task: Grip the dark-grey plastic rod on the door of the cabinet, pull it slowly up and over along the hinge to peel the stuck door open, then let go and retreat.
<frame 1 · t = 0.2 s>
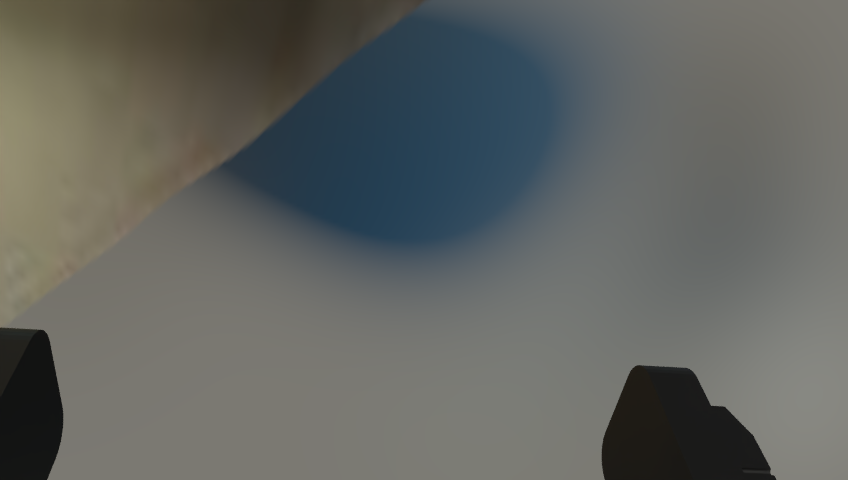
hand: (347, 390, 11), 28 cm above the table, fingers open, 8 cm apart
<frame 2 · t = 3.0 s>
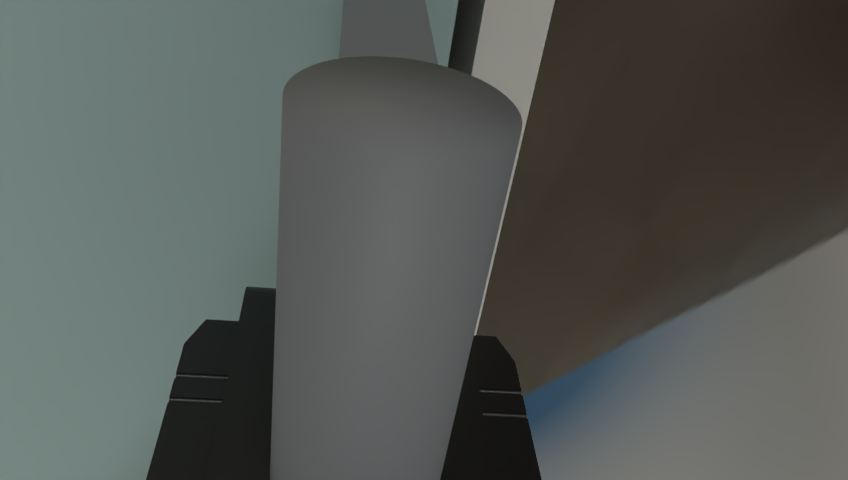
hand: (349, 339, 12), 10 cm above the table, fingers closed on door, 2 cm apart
cabinet: (137, 50, 19), on the table
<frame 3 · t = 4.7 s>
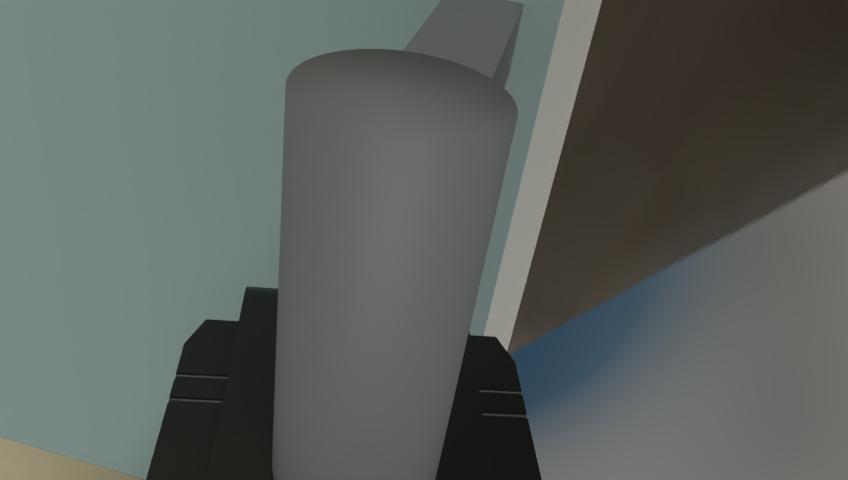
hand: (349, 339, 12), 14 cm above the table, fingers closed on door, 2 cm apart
cabinet: (237, 11, 22), on the table
door: (12, 290, 11), point 13 cm above the table, hinge at 17.1°, touching gripper
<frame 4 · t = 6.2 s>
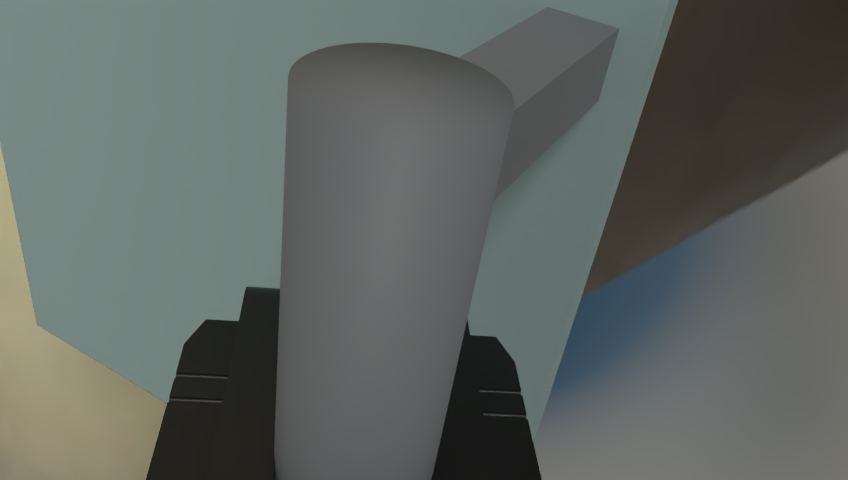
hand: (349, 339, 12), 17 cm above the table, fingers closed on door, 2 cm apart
door: (127, 241, 13), point 15 cm above the table, hinge at 33.9°, touching gripper
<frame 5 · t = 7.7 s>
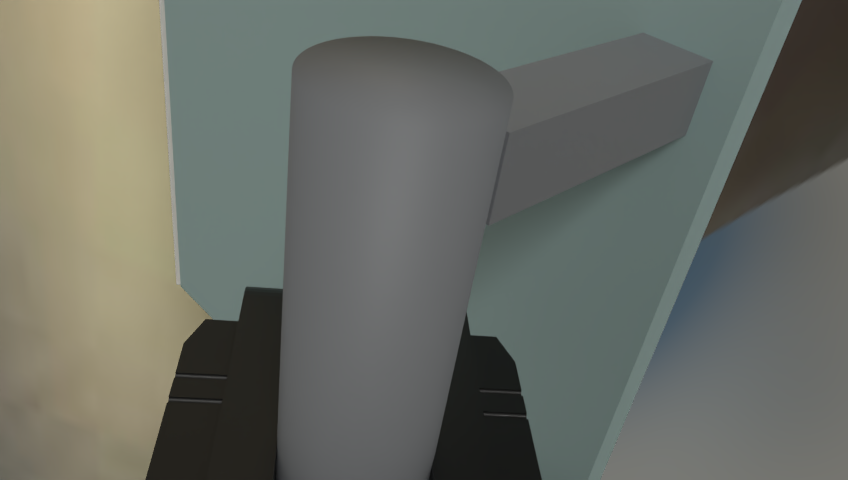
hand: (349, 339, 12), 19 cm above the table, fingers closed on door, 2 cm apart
door: (234, 214, 14), point 16 cm above the table, hinge at 51.0°, touching gripper
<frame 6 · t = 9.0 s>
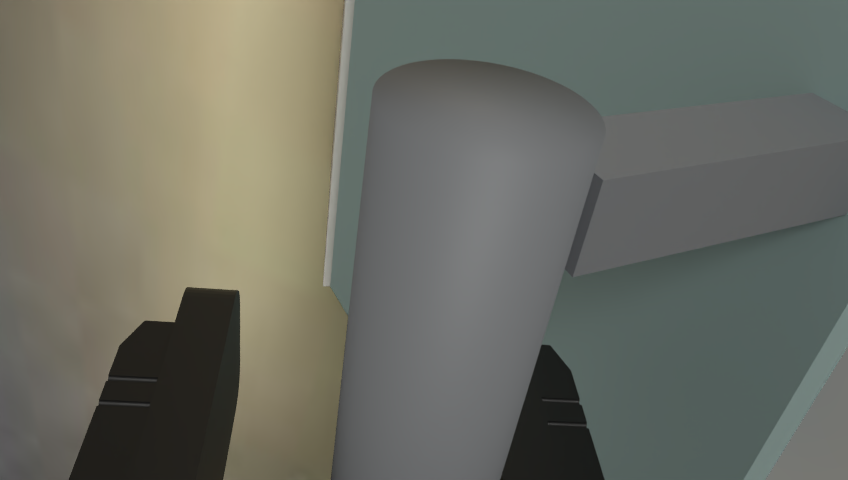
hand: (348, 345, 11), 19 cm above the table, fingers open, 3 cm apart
door: (368, 225, 14), point 16 cm above the table, hinge at 66.7°
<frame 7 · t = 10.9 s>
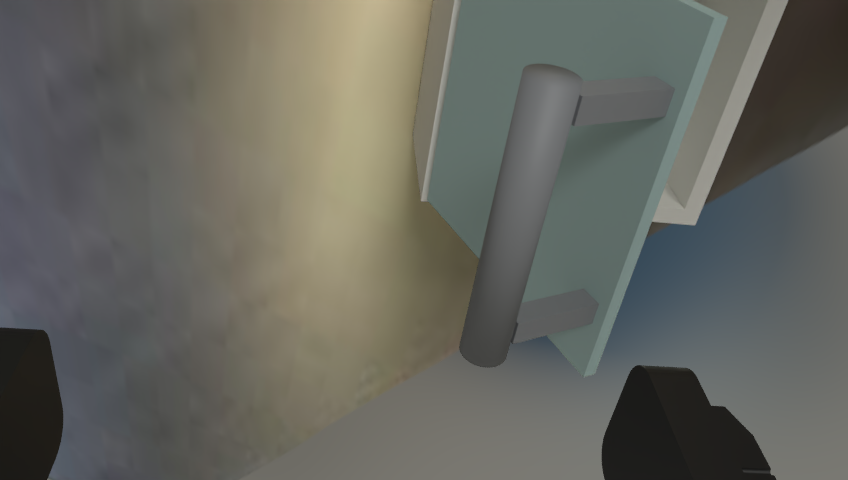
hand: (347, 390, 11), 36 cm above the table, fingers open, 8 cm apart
cabinet: (565, 26, 45), on the table
door: (479, 140, 31), point 16 cm above the table, hinge at 66.7°
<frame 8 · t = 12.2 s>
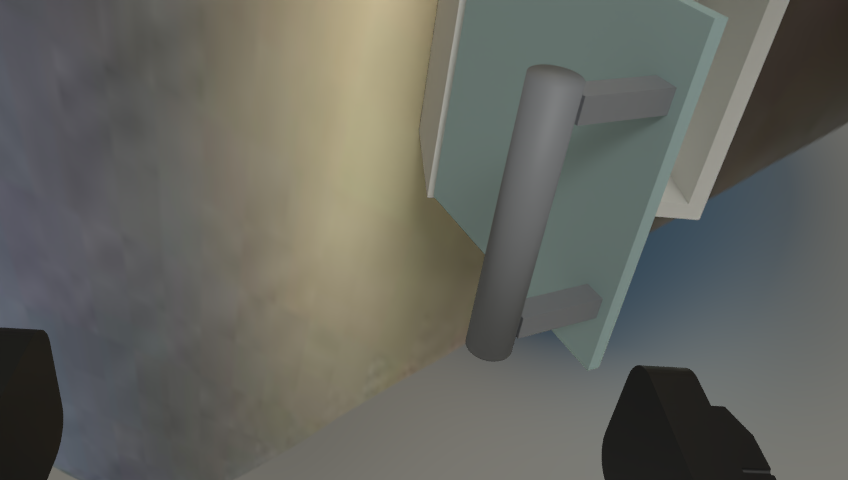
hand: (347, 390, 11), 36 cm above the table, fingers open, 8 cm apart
cabinet: (570, 23, 45), on the table
door: (484, 138, 31), point 16 cm above the table, hinge at 66.7°
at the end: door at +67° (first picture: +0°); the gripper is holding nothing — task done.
